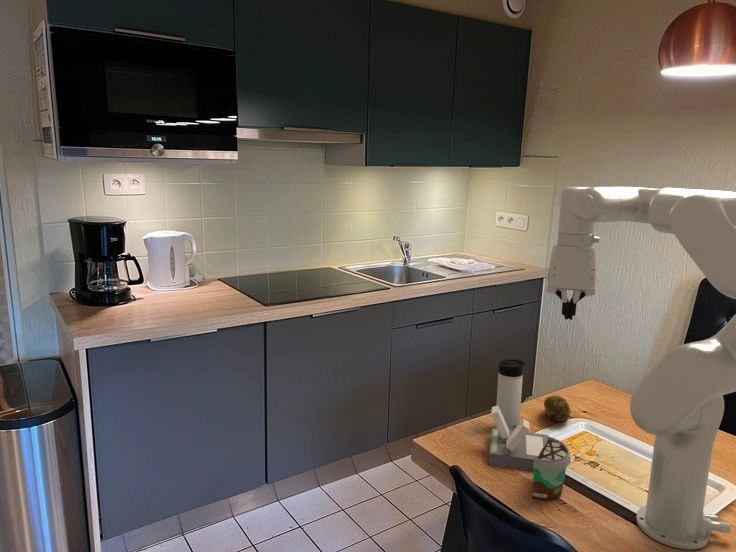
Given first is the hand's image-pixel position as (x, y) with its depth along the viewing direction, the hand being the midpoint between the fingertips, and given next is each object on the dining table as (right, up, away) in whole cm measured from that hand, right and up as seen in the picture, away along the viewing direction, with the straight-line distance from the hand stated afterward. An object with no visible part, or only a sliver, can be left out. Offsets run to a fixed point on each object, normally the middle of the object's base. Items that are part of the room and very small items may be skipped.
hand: (568, 318), depth 129 cm
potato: (+6, -31, +26) cm, 41 cm away
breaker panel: (-10, -34, +6) cm, 36 cm away
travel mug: (-10, -32, +18) cm, 38 cm away
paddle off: (-14, -31, +2) cm, 35 cm away
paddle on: (-12, -30, +7) cm, 34 cm away
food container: (-7, -38, -9) cm, 39 cm away
